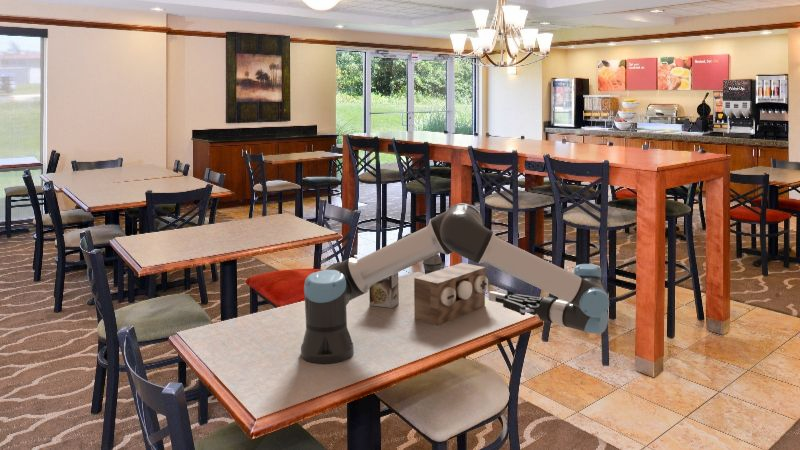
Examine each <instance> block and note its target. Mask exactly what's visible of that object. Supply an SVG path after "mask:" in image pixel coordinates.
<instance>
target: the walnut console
mask: <svg viewBox="0 0 800 450" xmlns="http://www.w3.org/2000/svg"><path fill="white" fill-rule="evenodd" d="M413 279H414V280H413V288H414V290H413V291H414V292H413V293H414V294H413V295H414V299H413V300H414V303H413V304H414V309H413V310H414V317H413V318H414V319H416V320H418V321H422V322H425V323H429V324H432V325H436V326H439V325H441V324H444V323H447V322H449V321H451V320H453V319H456V318H458V317H461V316H464V315H467V314H468V313H470V312H473V311H476V310H478V309H481V308H483V307H485V305H486V291H487V290H488V286H489V279H488V277H487V276H486V267H485V266H481V265H475V264H471V263H466V262H460V263H456V264H455V265H451V266H447V267H444V268H441V270H438V271H434V272H431V273H428V274H425V273H424V274H422V275H420V276H416V277H414V278H413ZM461 281H468V282H470V283H471V284H472V293H471V296H470V297H469V298H468V299H461V298H459V297H458V296H457V287H458V284H459V283H460V282H461Z"/></svg>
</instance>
